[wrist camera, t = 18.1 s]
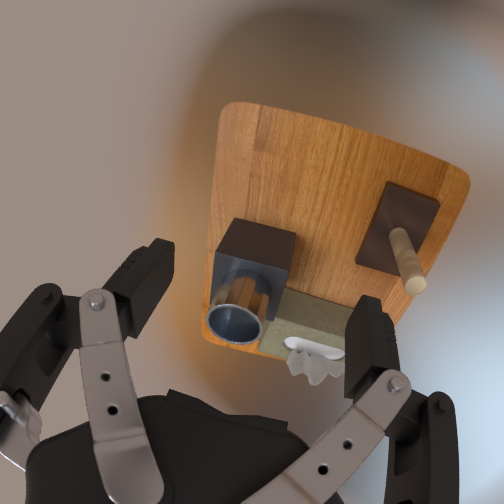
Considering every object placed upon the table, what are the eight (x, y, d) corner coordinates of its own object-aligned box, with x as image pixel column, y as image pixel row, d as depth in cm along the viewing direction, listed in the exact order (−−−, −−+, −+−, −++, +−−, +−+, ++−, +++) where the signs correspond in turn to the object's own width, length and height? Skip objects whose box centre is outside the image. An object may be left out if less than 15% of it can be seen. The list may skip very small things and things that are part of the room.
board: (386, 181, 40) (388, 184, 38) (437, 200, 39) (440, 204, 38) (354, 258, 48) (355, 264, 46) (401, 272, 47) (403, 277, 46)
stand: (234, 217, 48) (215, 252, 40) (296, 232, 47) (289, 271, 39) (226, 266, 54) (209, 304, 46) (282, 281, 53) (273, 322, 45)
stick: (400, 223, 41) (420, 272, 31) (410, 236, 42) (431, 287, 32) (384, 235, 43) (399, 286, 33) (395, 247, 43) (411, 299, 34)
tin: (242, 259, 40) (228, 294, 34) (282, 292, 41) (274, 330, 36) (211, 286, 44) (195, 321, 38) (249, 315, 45) (238, 351, 40)
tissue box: (372, 314, 53) (378, 384, 40) (349, 344, 59) (348, 411, 46) (277, 284, 54) (261, 355, 41) (263, 319, 59) (245, 386, 47)
